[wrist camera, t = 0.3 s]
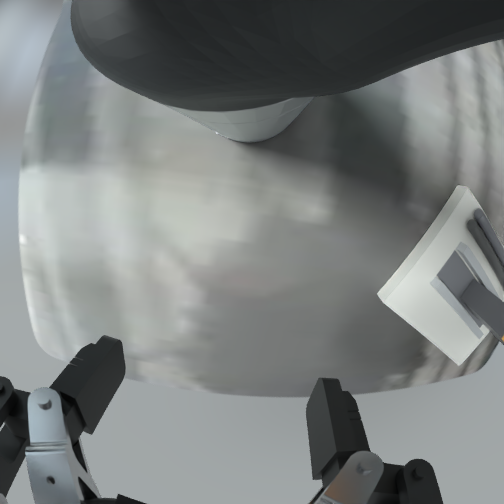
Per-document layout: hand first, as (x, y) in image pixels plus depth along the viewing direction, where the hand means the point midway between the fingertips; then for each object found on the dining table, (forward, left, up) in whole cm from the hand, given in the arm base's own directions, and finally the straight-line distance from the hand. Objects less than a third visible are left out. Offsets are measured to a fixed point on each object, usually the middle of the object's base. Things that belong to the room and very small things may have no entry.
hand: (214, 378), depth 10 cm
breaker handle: (+2, +29, -15) cm, 33 cm away
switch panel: (+2, +29, -18) cm, 34 cm away
